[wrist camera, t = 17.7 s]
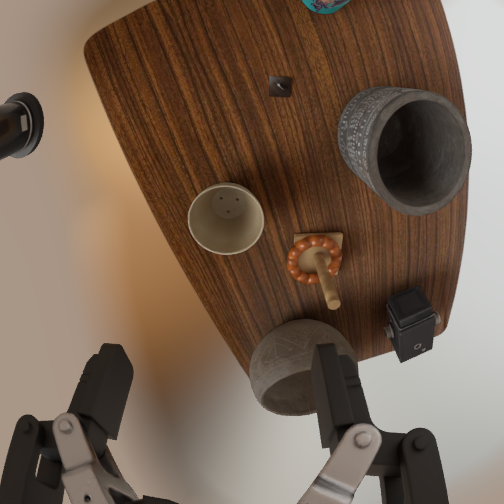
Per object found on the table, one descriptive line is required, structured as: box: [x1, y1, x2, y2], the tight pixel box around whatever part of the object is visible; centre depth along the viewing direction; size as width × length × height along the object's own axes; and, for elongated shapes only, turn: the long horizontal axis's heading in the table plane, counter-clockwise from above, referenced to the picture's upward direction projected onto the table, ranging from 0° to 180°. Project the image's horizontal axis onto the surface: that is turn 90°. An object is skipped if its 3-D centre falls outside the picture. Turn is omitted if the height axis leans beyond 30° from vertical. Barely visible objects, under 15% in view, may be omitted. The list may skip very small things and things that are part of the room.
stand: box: [294, 232, 343, 310], centre depth 43 cm, size 8×8×13 cm
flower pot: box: [188, 182, 264, 255], centre depth 41 cm, size 10×10×7 cm
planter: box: [337, 86, 472, 216], centre depth 31 cm, size 14×14×15 cm
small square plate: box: [269, 76, 291, 97], centre depth 34 cm, size 3×3×1 cm
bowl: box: [250, 319, 358, 416], centre depth 54 cm, size 21×21×15 cm
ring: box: [287, 235, 342, 284], centre depth 47 cm, size 9×9×2 cm
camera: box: [384, 286, 441, 363], centre depth 51 cm, size 11×11×15 cm
